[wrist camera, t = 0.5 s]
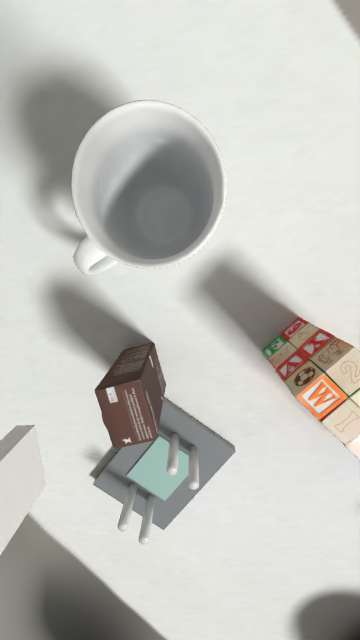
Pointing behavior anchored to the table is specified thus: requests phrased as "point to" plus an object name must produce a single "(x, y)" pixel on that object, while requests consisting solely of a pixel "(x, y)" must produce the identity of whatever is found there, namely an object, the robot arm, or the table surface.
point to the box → (132, 397)
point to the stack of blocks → (321, 377)
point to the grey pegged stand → (164, 470)
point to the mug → (146, 188)
